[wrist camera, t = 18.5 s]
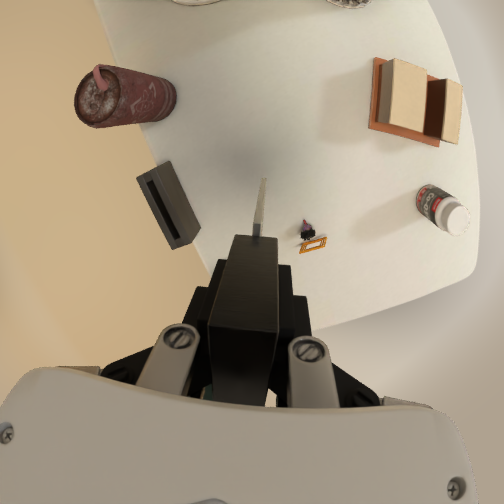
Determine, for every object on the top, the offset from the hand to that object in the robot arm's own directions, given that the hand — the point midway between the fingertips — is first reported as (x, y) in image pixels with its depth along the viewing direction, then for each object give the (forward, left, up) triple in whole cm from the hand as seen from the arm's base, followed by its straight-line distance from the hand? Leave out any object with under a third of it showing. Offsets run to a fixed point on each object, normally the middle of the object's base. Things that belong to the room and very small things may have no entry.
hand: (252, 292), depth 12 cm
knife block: (+4, -12, -25) cm, 28 cm away
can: (-10, -15, -25) cm, 31 cm away
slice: (-13, +22, -24) cm, 35 cm away
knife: (0, 0, -8) cm, 8 cm away
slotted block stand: (-13, +18, -25) cm, 34 cm away
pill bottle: (0, +24, -25) cm, 35 cm away
